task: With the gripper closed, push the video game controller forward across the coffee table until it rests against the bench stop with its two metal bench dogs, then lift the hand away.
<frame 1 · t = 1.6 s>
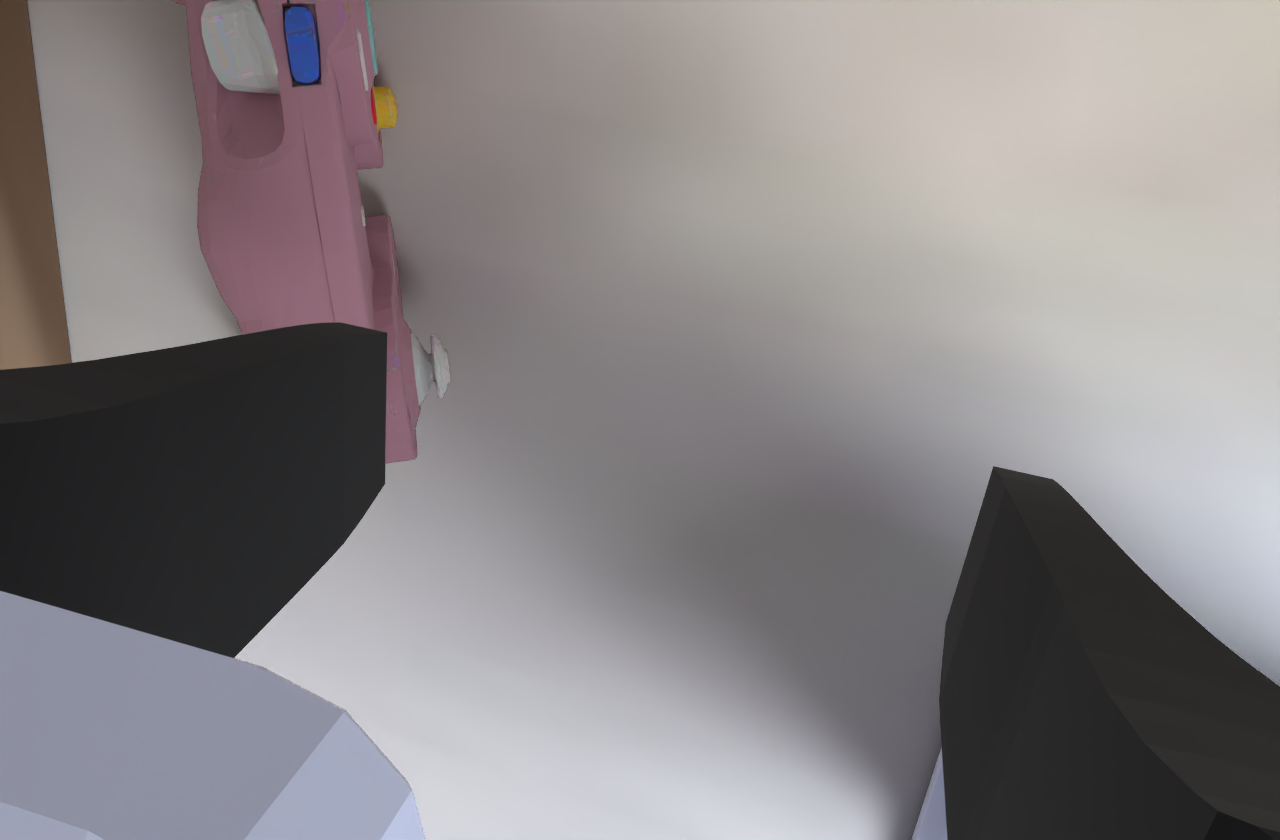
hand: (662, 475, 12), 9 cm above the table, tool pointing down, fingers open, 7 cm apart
video game controller: (363, 177, 22), on the table
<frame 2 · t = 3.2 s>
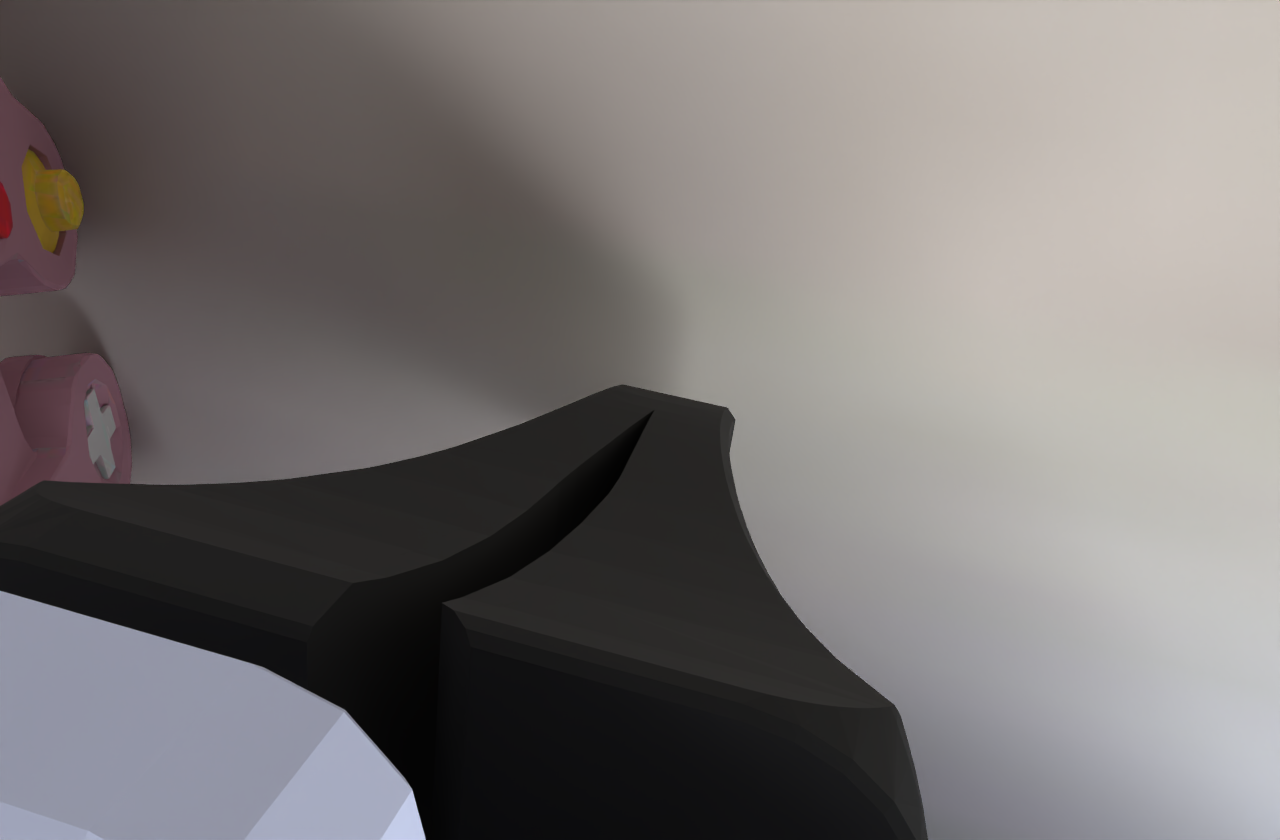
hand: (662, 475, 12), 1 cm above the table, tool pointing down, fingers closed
video game controller: (71, 290, 15), on the table
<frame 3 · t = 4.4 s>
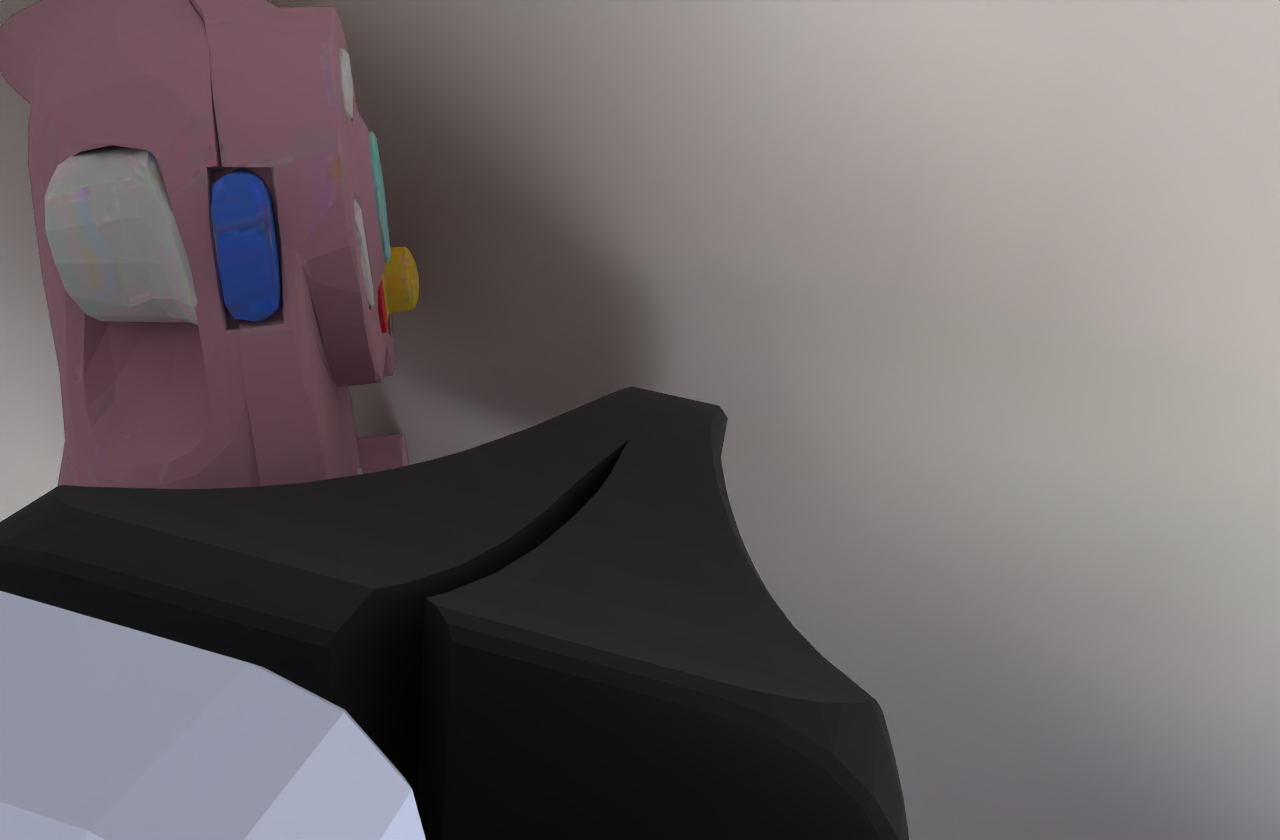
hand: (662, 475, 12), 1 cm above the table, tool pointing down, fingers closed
video game controller: (362, 362, 14), on the table, touching gripper
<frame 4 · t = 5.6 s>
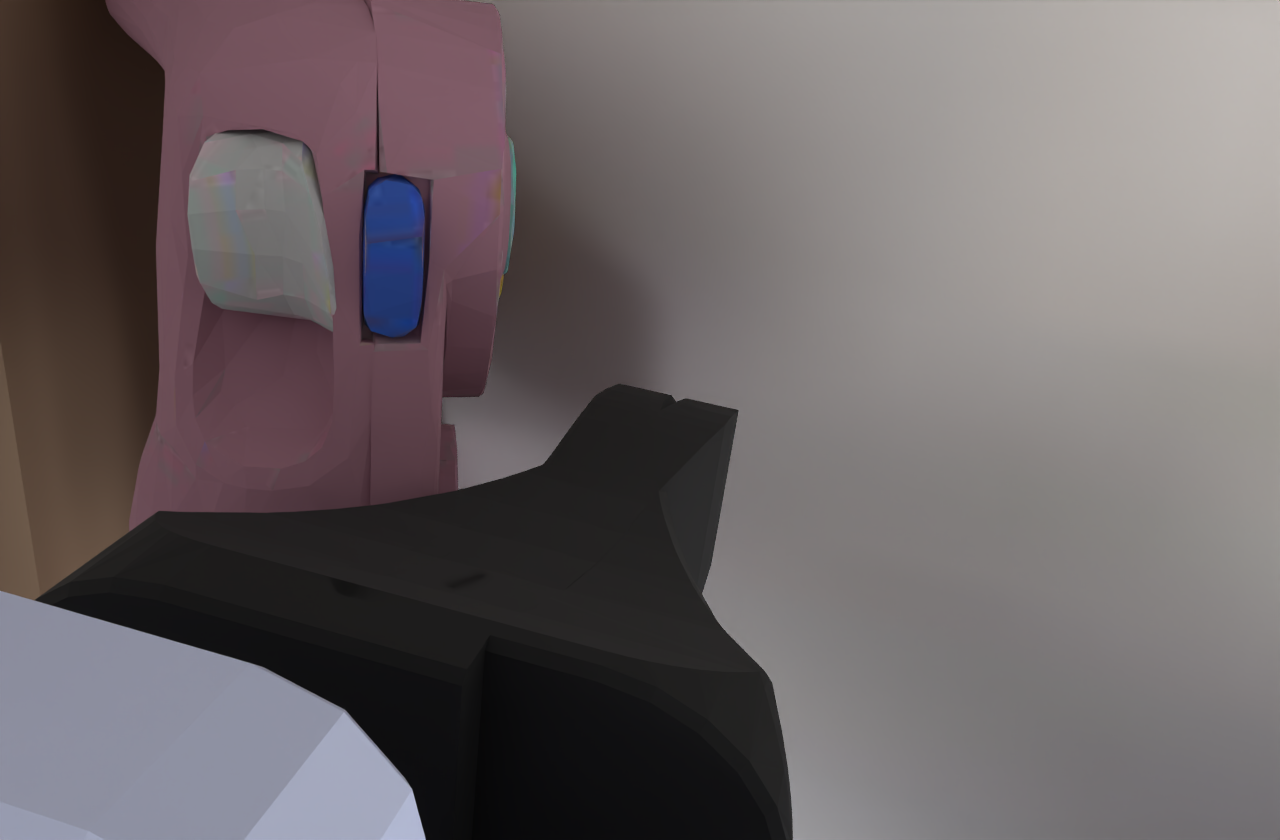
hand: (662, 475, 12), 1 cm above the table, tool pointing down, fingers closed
video game controller: (418, 342, 14), on the table, touching bench stop, gripper
bench stop: (115, 294, 15), on the table
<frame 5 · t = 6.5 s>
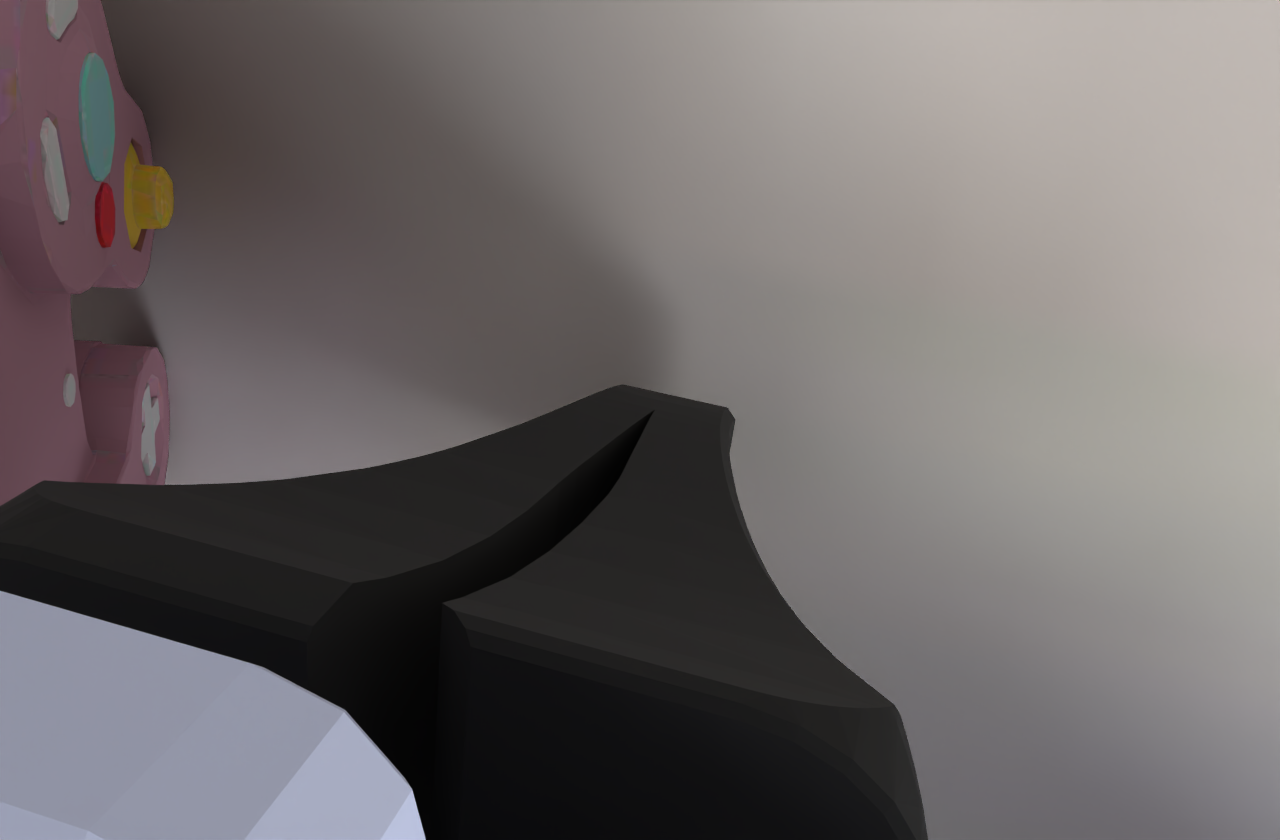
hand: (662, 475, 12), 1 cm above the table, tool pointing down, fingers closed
video game controller: (131, 271, 15), on the table
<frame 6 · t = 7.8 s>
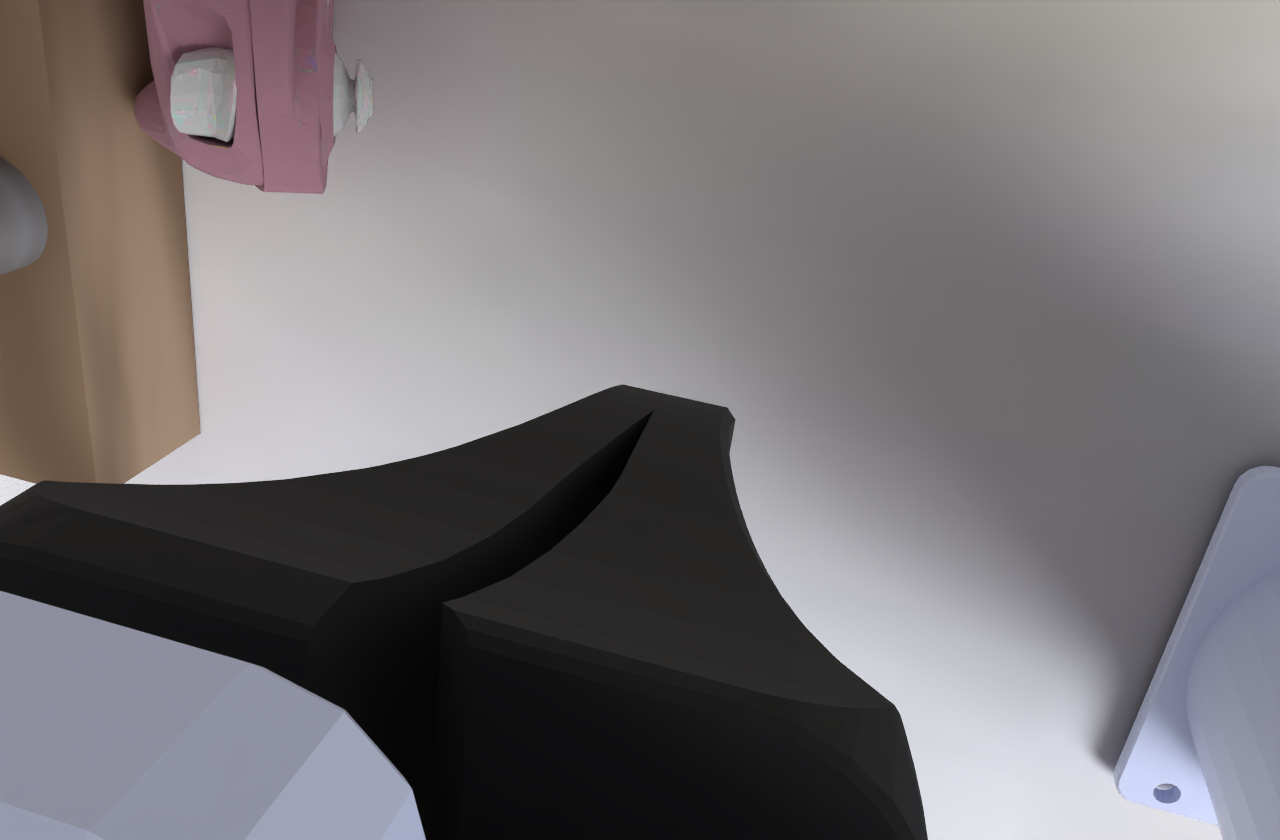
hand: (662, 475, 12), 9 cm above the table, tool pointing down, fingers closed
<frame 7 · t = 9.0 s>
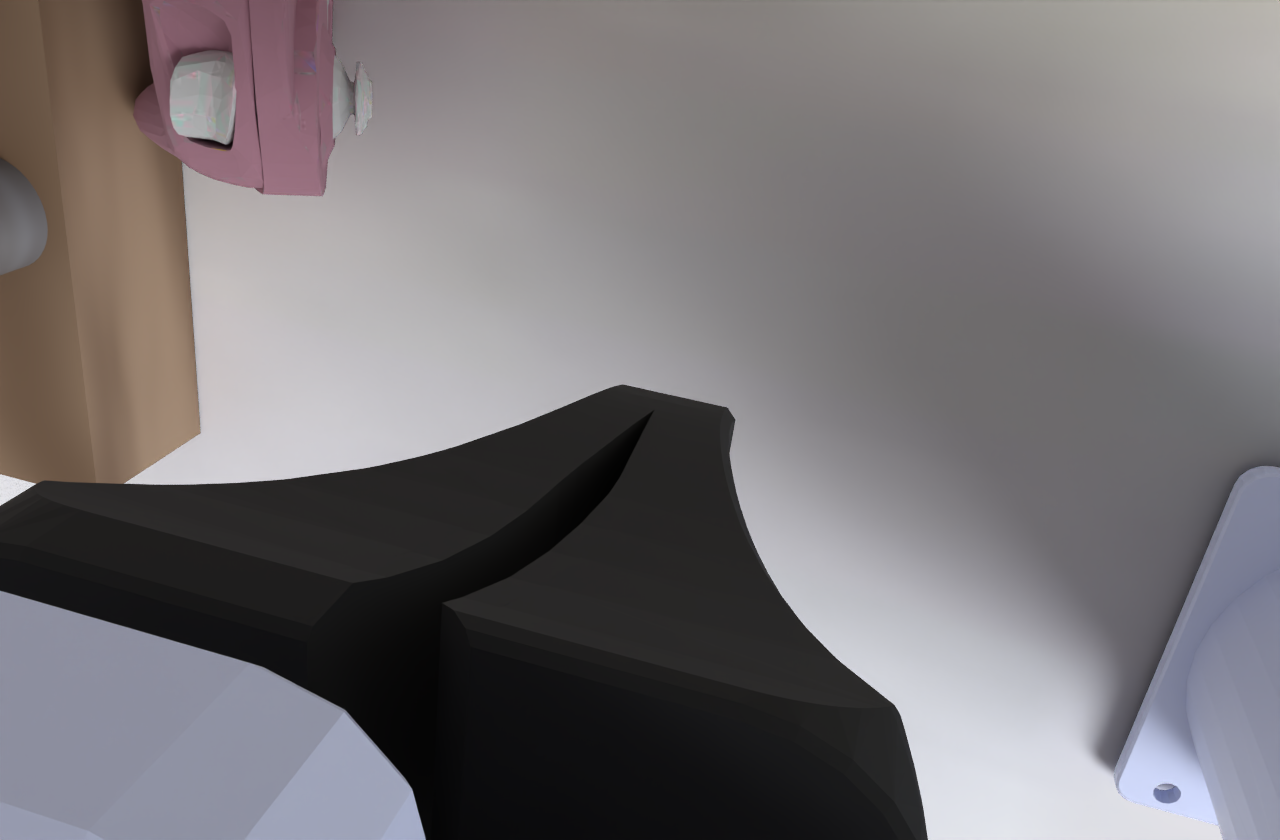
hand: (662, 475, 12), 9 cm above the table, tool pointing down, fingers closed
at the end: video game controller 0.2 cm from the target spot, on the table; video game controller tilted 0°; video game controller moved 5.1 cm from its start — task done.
